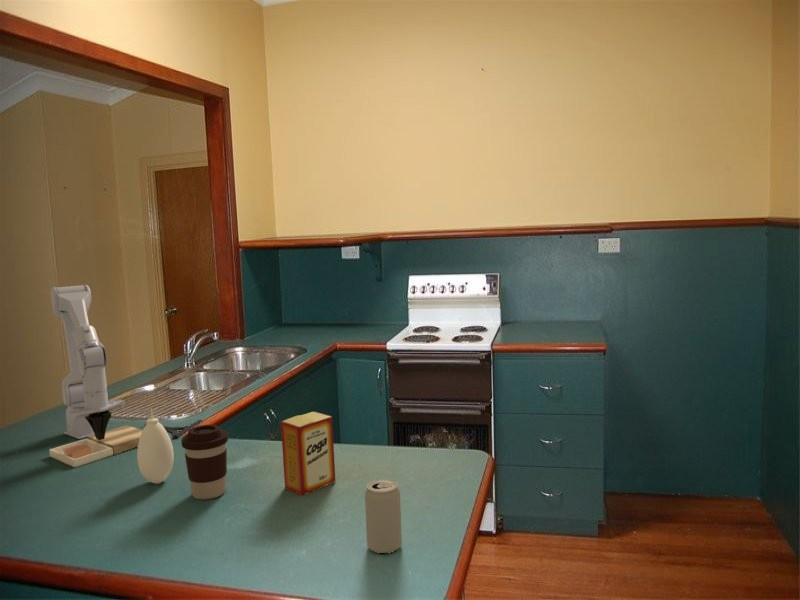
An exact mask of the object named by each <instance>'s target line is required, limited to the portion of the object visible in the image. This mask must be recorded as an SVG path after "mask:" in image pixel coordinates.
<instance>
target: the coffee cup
mask: <svg viewBox="0 0 800 600" xmlns="http://www.w3.org/2000/svg"><path fill="white" fill-rule="evenodd" d="M228 441H229V434H228V431H226V430H224V429H221V427H220V426H219V425H217V424H204V425H203V424H201V425H198V426H197V427H194V428H192V429H190V430H189V431H188V433H186V434H185V435H183V436H182V437H181V442H180V443H181V447H182V448H183V449H185V453H184V455H185V456H184V457H185V464H186V469H187V476H188V479H189V482H190V488H191V494H192V497H193V498H195V499H197V500H205V501H206V500H211V499H216V498H218V497H220V496H222V495H224V493H225V492H226V491H227V488H226V485H227V483H226V482H227V480H226V478H227V477H226V476H227V470H228V468H227V467H228V466H227V463H228V462H227V461H228V460H227V459H228V458H227V455H228V454H227V447H226V443H228Z"/></svg>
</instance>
